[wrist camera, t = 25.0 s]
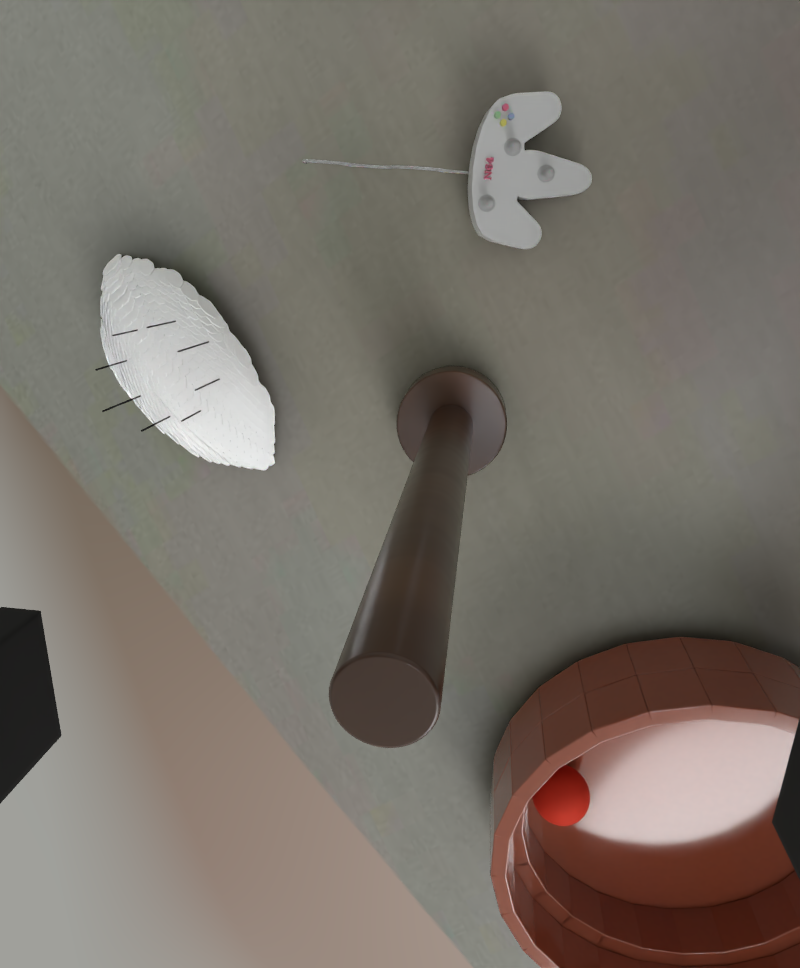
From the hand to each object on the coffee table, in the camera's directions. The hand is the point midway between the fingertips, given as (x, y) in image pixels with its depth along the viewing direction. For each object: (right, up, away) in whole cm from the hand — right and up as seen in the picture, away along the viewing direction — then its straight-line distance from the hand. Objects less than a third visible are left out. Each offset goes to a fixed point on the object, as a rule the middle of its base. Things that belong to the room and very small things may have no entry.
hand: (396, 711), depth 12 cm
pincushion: (-10, +10, +21) cm, 25 cm away
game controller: (+2, +18, +17) cm, 24 cm away
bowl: (+15, -13, +25) cm, 32 cm away
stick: (+3, +7, +20) cm, 22 cm away
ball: (+9, -12, +24) cm, 28 cm away
